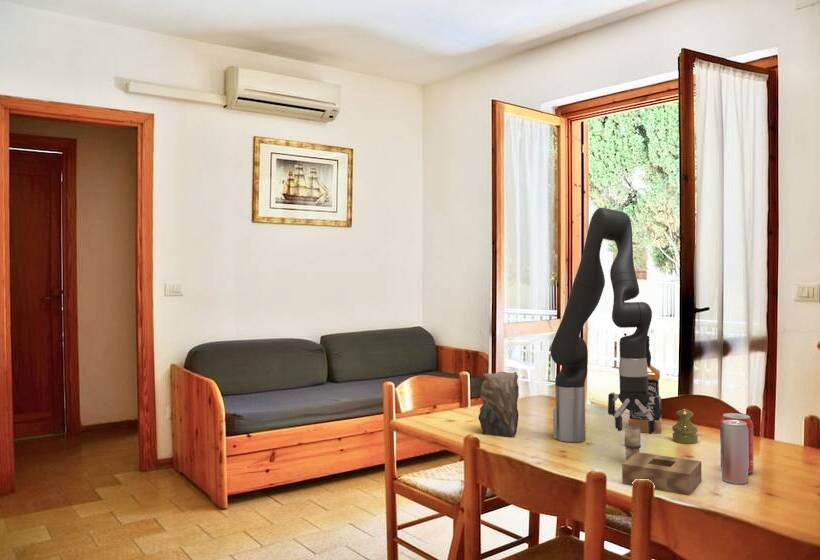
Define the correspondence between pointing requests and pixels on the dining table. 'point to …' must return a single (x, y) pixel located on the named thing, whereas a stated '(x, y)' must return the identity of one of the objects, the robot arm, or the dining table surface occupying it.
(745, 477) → the beverage can
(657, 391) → the whiskey bottle
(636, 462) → the walnut block
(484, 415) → the dark brown rock
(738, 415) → the soda can
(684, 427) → the green tiered insulator
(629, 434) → the peg
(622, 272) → the robot arm
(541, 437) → the dining table surface
